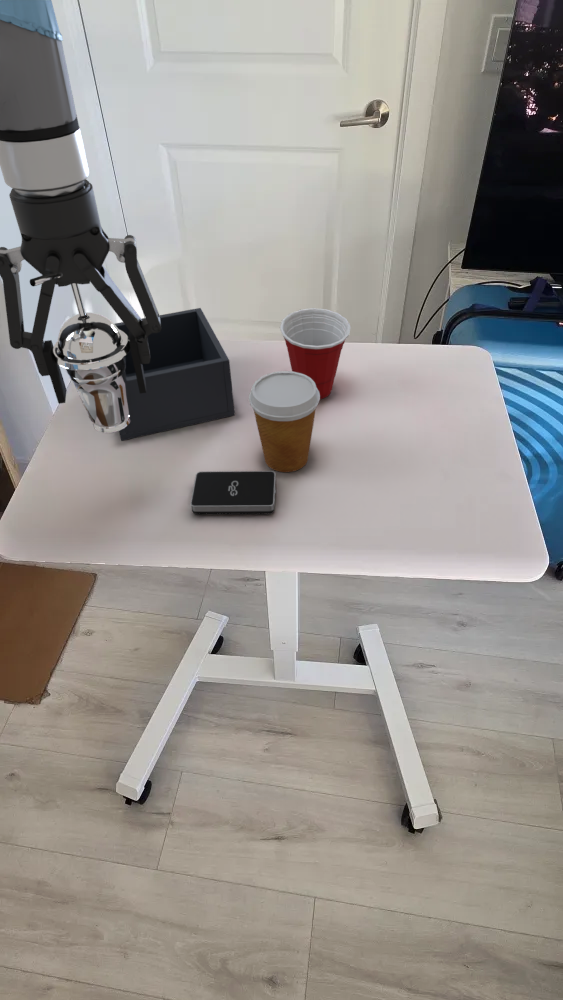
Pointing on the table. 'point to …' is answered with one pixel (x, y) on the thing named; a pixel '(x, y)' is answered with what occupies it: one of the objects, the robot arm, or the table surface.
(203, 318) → the bin
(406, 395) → the table surface
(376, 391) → the table surface
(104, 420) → the cup with straw
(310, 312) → the plastic cup
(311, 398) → the disposable coffee cup
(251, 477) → the external hard drive
